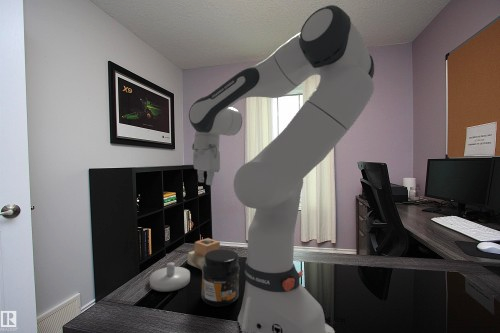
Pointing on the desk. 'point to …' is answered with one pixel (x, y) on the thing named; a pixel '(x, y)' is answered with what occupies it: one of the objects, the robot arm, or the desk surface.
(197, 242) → the orange square hollow block
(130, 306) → the desk surface
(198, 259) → the stand
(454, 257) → the desk surface
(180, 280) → the hub
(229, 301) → the supplement container
